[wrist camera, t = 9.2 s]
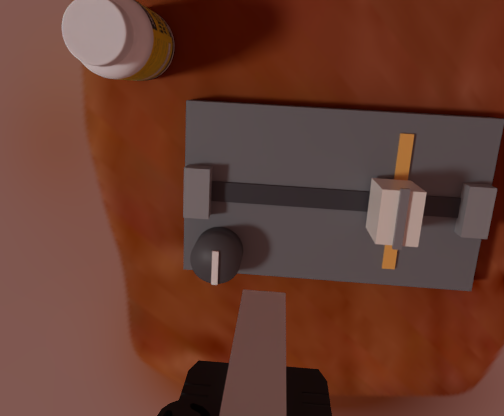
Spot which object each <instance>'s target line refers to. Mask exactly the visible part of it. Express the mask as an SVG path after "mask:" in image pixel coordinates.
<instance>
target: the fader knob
mask: <svg viewBox="0 0 504 416" xmlns="http://www.w3.org/2000/svg"><path fill="white" fill-rule="evenodd" d="M426 194H427V192H425V191H424V190H423V189H422V188H420V187H419V186H418V185H416V184H415V183H414V182H412V181H410V180H394V179H379V178H372V180H371V188H370V196H369V204H368V212H367V220H366V229H367V231H368V232H369V234H370V236H371V237H372V239H373V241H374V243H375V244H381V245H392V249H394V250H402V246H408V247H418V244H419V238H420V231H421V225H422V219H423V213H424V206H425V200H426Z"/></svg>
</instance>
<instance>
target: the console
mask: <svg viewBox="0 0 504 416" xmlns="http://www.w3.org/2000/svg"><path fill="white" fill-rule="evenodd" d="M503 126H504V119H500V118H494V117H479V116H462V115H445V114H428V113H411V112H394V111H377V110H360V109H342V108H325V107H308V106H291V105H274V104H257V103H240V102H223V101H206V100H186V149H185V168H184V207H183V218H184V269H189V270H193V271H194V272H195V274H196V275H197V276H198V277H199V278H201V279H202V280H204V281H206V282H209V283H211V284H212V285H217V284H220V283H224V282H227V281H229V280H231V279H232V278H233V277H234V276H235V275H236V274H237V273H241V274H254V275H267V276H280V277H293V278H306V279H319V280H332V281H345V282H358V283H372V284H385V285H398V286H411V287H424V288H437V289H450V290H463V291H471V289H472V284H473V279H474V274H475V269H476V264H477V258H478V253H479V248H480V243H481V239H487V238H488V233H489V228H490V223H491V218H492V213H493V208H494V203H495V198H496V193H497V188H495V187H493V186H492V182H493V177H494V172H495V167H496V162H497V157H498V151H499V146H500V141H501V136H502V131H503ZM372 178H379V179H394V180H410V181H412V182H414V183H415V184H416V185H418V186H419V187H420V188H422V189H423V190H424V191H425V192H427V194H426V200H425V206H424V213H423V219H422V225H421V231H420V238H419V244H418V247H408V246H402V250H394V249H392V245H381V244H375V243H374V241H373V239H372V237H371V236H370V234H369V232H368V231H367V229H366V220H367V212H368V204H369V196H370V188H371V180H372Z"/></svg>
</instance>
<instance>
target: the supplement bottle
mask: <svg viewBox="0 0 504 416" xmlns="http://www.w3.org/2000/svg"><path fill="white" fill-rule="evenodd" d="M62 35H63V39H64V42H65V44H66V46H67V48H68V49H69V51H70V52H71V53H72V54H73V55H74V56H75V57H76V58H77V59H79V60H80V61H81V62H82V63H83V64H84V66H85V67H87V68H88V69H89V70H90V71H92V72H93V73H95V74H97V75H99V76H102V77H105V78H110V79H121V80H137V81H144V80H151V79H154V78H156V77H158V76H159V75H161V74H162V73H163V72H165V70H166V69H167V68H168V67H169V65H170V63H171V61H172V58H173V55H174V38H173V34H172V32H171V29H170V27H169V26H168V24H167V23H166V22H165V20H164V19H163V18H161V17H160V16H159V15H158V14H156V13H155V12H153V11H152V10H150V9H148V8H147V7H145V6H143V5H142V4H140V3H139V2H137V1H135V0H74V1H73V2H72V3H71V4H70V5H69V6H68V8H67V9H66V11H65V13H64V16H63V19H62Z"/></svg>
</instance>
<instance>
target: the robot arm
mask: <svg viewBox="0 0 504 416" xmlns="http://www.w3.org/2000/svg"><path fill="white" fill-rule="evenodd" d="M157 416H332V413H331V407H330V399H329V392H328V385H327V381H326V379H325V378H324V377H323V375H322V374H321V372H320V371H319V370H318V369H308V368H296V367H286V308H285V293H280V292H267V291H253V290H243V293H242V298H241V304H240V309H239V314H238V319H237V325H236V330H235V335H234V340H233V346H232V351H231V356H230V361H229V363H222V362H210V361H198V362H197V363H196V364H195V365H194V366H193V367H192V368H191V369H190V370H189V371H188V374H187V377H186V380H185V383H184V386H183V389H182V393H181V396H180V399H179V400H178V401H175V402H172V403H170V404H168V405H167V406H165V407H164V408H162V409H161V411H160V412H159V414H158V415H157Z"/></svg>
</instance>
